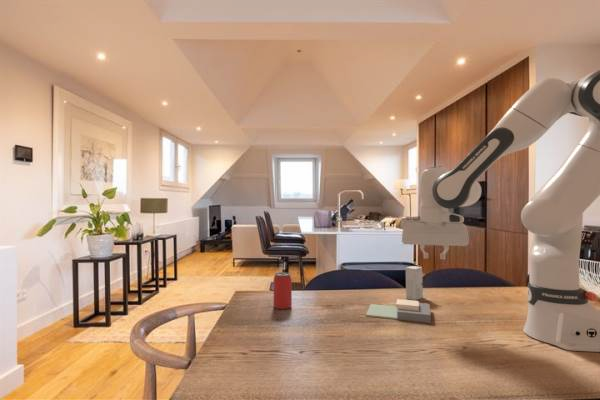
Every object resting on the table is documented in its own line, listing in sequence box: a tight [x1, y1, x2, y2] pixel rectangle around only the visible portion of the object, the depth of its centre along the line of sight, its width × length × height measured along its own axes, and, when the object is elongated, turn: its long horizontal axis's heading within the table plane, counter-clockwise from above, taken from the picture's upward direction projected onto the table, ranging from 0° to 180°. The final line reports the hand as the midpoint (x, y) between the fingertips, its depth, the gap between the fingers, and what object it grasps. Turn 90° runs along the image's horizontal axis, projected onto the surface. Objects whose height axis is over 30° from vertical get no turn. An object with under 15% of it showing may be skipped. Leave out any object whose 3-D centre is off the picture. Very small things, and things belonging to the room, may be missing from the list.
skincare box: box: [405, 265, 424, 301], centre depth 129 cm, size 6×4×12 cm
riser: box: [396, 302, 432, 324], centre depth 109 cm, size 10×12×2 cm
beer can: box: [273, 271, 293, 310], centre depth 118 cm, size 7×7×12 cm
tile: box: [395, 298, 420, 311], centre depth 110 cm, size 7×6×2 cm
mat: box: [365, 303, 398, 320], centre depth 112 cm, size 10×12×1 cm
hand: (434, 258), depth 107 cm, fingers open, 4 cm apart
